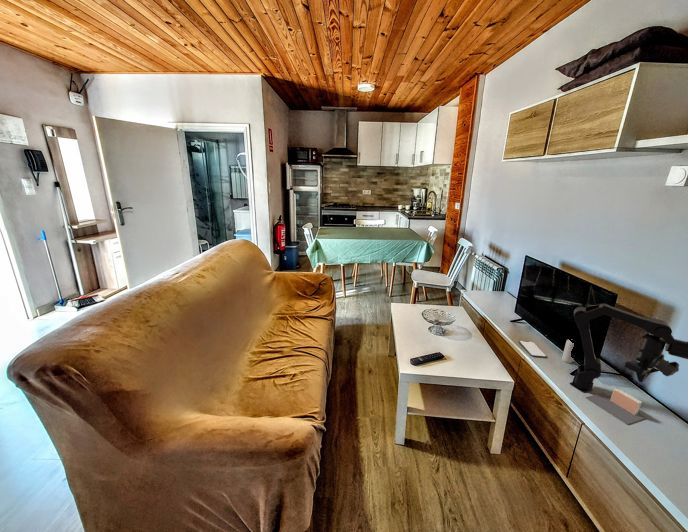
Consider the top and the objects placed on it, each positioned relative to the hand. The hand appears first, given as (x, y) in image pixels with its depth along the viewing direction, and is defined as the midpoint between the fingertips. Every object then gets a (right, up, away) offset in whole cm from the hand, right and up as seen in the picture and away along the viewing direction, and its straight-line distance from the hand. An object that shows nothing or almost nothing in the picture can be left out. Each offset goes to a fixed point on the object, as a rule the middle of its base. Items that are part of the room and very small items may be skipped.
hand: (640, 381), depth 128 cm
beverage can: (-5, -2, +35) cm, 36 cm away
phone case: (-18, +1, +45) cm, 49 cm away
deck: (-6, -11, +1) cm, 13 cm away
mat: (-10, -12, +1) cm, 16 cm away
